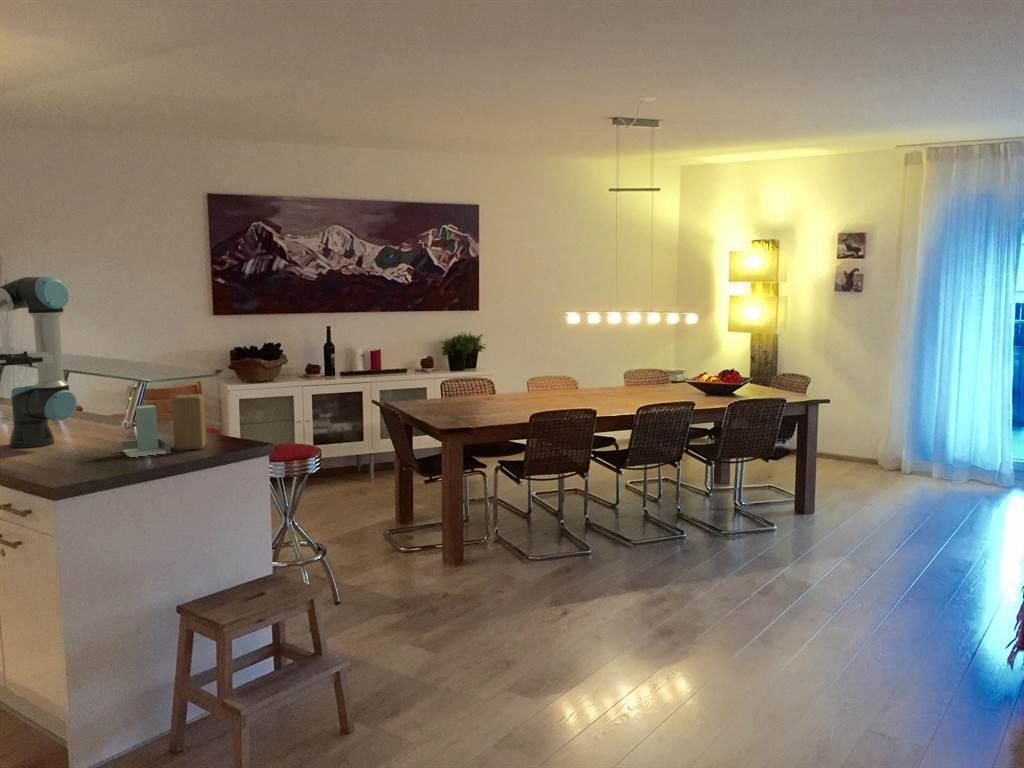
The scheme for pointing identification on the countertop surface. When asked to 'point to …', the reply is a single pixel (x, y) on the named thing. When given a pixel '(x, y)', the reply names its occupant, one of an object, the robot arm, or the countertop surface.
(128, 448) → the corner jig
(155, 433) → the teal post
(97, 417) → the countertop surface
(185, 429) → the wooden block
